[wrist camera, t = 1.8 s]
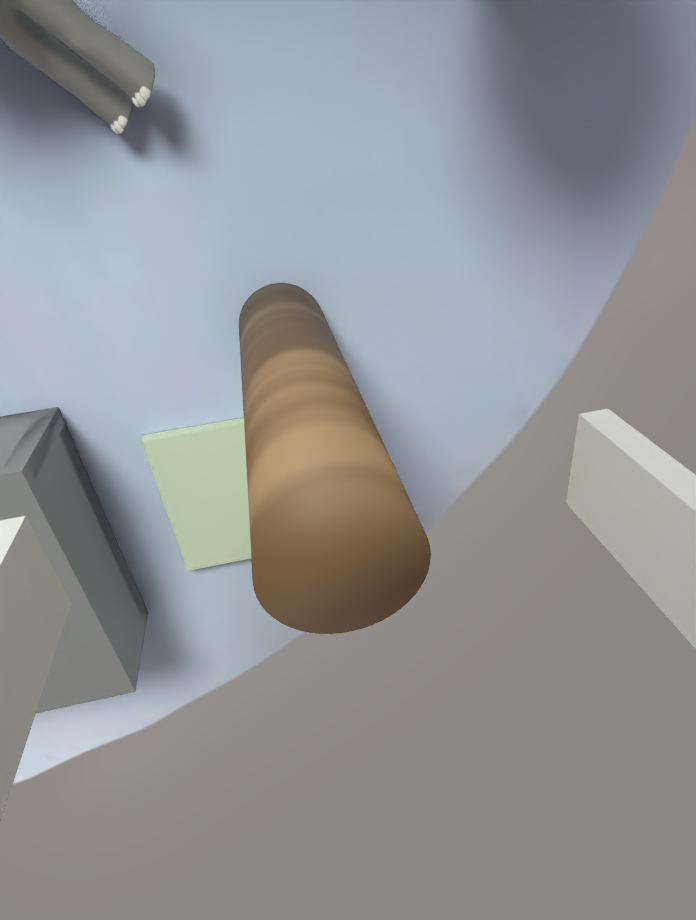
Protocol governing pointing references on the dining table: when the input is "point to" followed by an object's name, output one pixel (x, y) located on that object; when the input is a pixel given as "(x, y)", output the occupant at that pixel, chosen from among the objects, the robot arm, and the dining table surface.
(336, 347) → the walnut dowel
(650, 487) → the robot arm
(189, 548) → the mat
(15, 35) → the elephant figurine
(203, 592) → the dining table surface
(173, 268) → the dining table surface
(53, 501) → the grey square holder
